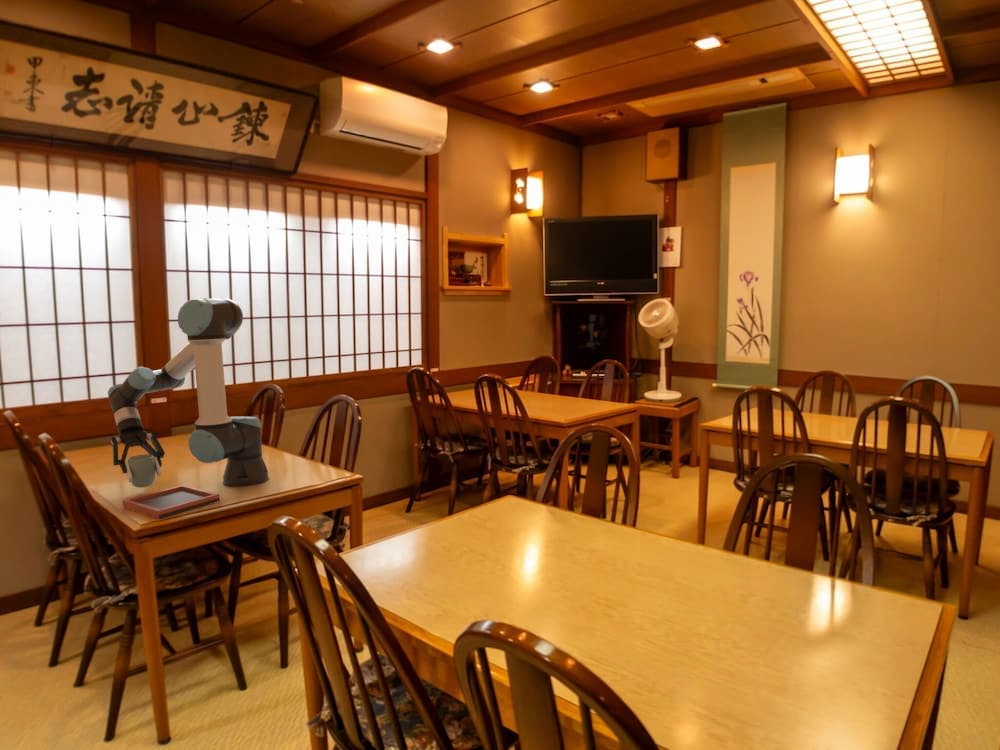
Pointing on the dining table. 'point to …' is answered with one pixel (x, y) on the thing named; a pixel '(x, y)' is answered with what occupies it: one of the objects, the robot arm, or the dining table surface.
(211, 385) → the robot arm
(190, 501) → the tray
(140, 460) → the cup
